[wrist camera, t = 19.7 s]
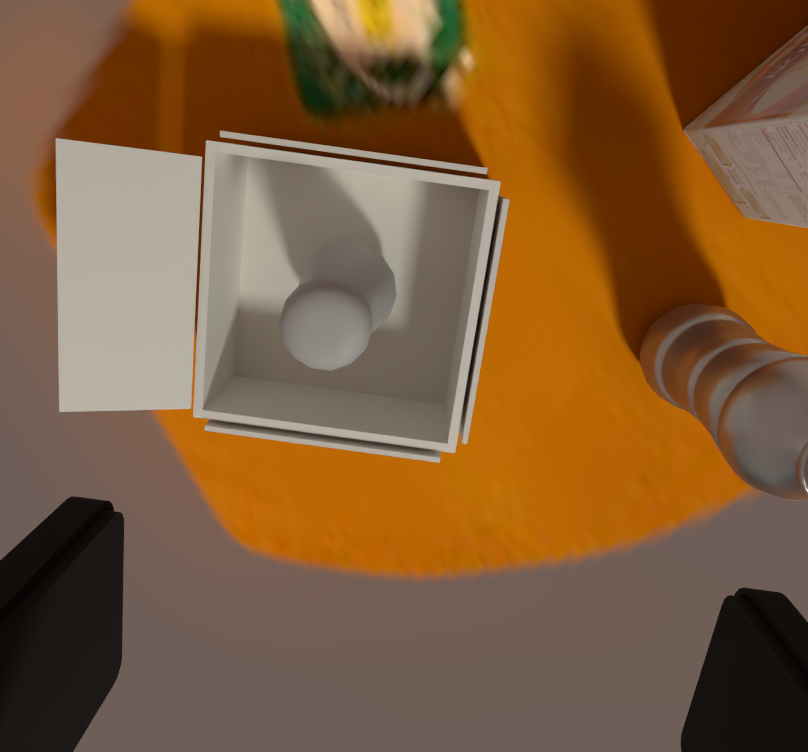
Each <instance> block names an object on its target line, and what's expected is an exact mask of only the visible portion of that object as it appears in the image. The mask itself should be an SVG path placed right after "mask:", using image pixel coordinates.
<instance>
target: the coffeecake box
mask: <svg viewBox="0 0 808 752" xmlns="http://www.w3.org/2000/svg"><path fill="white" fill-rule="evenodd" d="M684 132H685V134H686V135H687V137H688V138H689V139H690V141H691V142H692V144H693V145H694V146H695V148H696V149H697V150H698V152H699V153H700V155H701V156H702V157H703V159H704V160H705V161H706V163H707V164H708V166H709V167H710V169H711V170H712V172H713V173H714V175H715V176H716V178H717V179H718V181H719V182H720V184H721V185H722V186H723V188H724V189H725V191H726V192H727V194H728V195H729V197H730V198H731V200H732V201H733V202H734V204H735V205H736V207H737V208H738V210H739V211H740V213H741V214H742V215H743V217H745V218H750V219H756V220H762V221H768V222H775V223H781V224H787V225H793V226H799V227H806V228H808V25H807V26H806V27H805V28H803V29H802V30H801V31H800V32H798V33H797V34H796V35H795V36H794V37H792V38H791V39H790V40H789V41H788V42H786V43H785V44H784V45H783V46H782V47H780V48H779V49H778V50H777V51H776V52H774V53H773V54H772V55H771V56H770V57H769V58H767V59H766V60H765V61H764V62H763V63H761V64H760V65H759V66H758V67H757V68H755V69H754V70H753V71H752V72H751V73H750V74H748V75H747V76H746V77H745V78H744V79H742V80H741V81H740V82H739V83H737V84H736V85H735V86H734V87H733V88H731V89H730V90H729V91H728V92H727V93H725V94H724V95H723V96H722V97H721V98H720V99H718V100H717V101H716V102H715V103H714V104H712V105H711V106H710V107H709V108H708V109H706V110H705V111H704V112H703V113H702V114H701V115H699V116H698V117H697V118H696V119H695V120H693V121H692V122H691V123H690V124H689V125H688V126H686V127H685V128H684Z"/></svg>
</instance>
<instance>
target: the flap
mask: <svg viewBox="0 0 808 752" xmlns="http://www.w3.org/2000/svg"><path fill="white" fill-rule="evenodd" d="M201 172H202V157H201V156H194V155H186V154H178V153H170V152H162V151H154V150H147V149H139V148H131V147H123V146H115V145H107V144H99V143H92V142H84V141H76V140H68V139H60V138H56V207H57V269H58V270H57V275H58V337H59V338H58V343H59V408H60V412H72V411H114V410H158V409H191V393H192V371H193V349H194V327H195V305H196V282H197V260H198V238H199V216H200V194H201Z"/></svg>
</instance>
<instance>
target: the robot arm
mask: <svg viewBox="0 0 808 752" xmlns="http://www.w3.org/2000/svg"><path fill="white" fill-rule="evenodd" d="M123 553H124V518H123V514H122V513H120V512H114V509H113V505H112V503H111V502H110V501H104V500H96V499H89V498H82V497H70V498H68V499H67V500H66V501H65V502H63V503H62V504H61V505H60V506H59V507H58V508H57V509H56V510H55V511H54V512H53V513H52V514H50V515H49V516H48V518H46V519H45V520H44V521H43V522H42V523H41V524H40V525H38V526H37V528H35V529H34V530H33V531H32V532H31V533H30V534H29V535H28V536H27V537H26V538H24V539H23V540H22V541H21V542H20V543H19V544H18V545H17V546H16V547H15V548H14V549H12V550H11V551H10V552H9V553H8V554H7V555H6V556H5V557H4V558H3V559H2V560H0V752H73V751H74V749H75V747H76V745H77V744H78V742H79V741H80V739H81V738H82V736H83V734H84V733H85V731H86V729H87V728H88V726H89V724H90V723H91V721H92V719H93V718H94V716H95V715H96V713H97V711H98V709H99V708H100V706H101V705H102V703H103V701H104V700H105V698H106V696H107V694H108V693H109V691H110V690H111V688H112V686H113V685H114V683H115V681H116V679H117V676H118V673H119V670H120V665H121V660H122V615H123V614H122V612H123ZM681 751H682V752H808V622H807V621H806V620H805V619H804V617H803V616H802V615H801V614H800V613H799V611H798V610H797V609H796V608H795V607H794V605H793V604H792V603H791V602H790V601H789V599H788V598H787V597H786V596H784V595H783V594H782V593H779V592H772V591H765V590H757V589H750V588H741V589H739V590H738V591H737V592H736V593H735V595H734V596H731V595H730V596H727V597H726V598H725V599H724V602H723V604H722V607H721V610H720V613H719V616H718V620H717V623H716V627H715V629H714V632H713V635H712V639H711V642H710V645H709V648H708V651H707V654H706V658H705V661H704V664H703V667H702V670H701V673H700V677H699V680H698V683H697V686H696V690H695V693H694V696H693V699H692V702H691V705H690V708H689V712H688V715H687V718H686V721H685V724H684V727H683V731H682V735H681Z"/></svg>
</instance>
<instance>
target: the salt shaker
mask: <svg viewBox="0 0 808 752" xmlns="http://www.w3.org/2000/svg"><path fill="white" fill-rule="evenodd" d="M396 296H397V294H396V286H395V278H394V273H393V272H392V270H391V268H390V267H389V265H388V264H387V262H386V261H385V259H384V258H383V256H382V255H381V254H380V253H378V252H376V251H375V250H373V249H372V248H370V247H368V246H367V245H365V244H364V243H358V242H348V241H339V242H336V243H333V244H330V245H327V246H324V247H321V248H319V249H318V250H317V252H316V253H315V254H314V255H313V256H312V257H311V258H310V259H309V260H308V261H307V263H306V264H305V266H304V269H303V272H302V275H301V279H300V282H299V285H298V287H297V288H296V289H295V290H294V291H293V292H292V293H291V295H290V296H289V297H288V298H287V299H286V300H285V303H284V307H283V310H282V313H281V316H280V320H279V324H280V329H281V335H282V340H283V343H284V344H285V346H286V347H287V349H288V350H289V352H290V353H291V355H292V356H293V357H294V359H296V360H298V361H300V362H301V363H303V364H305V365H307V366H308V367H310V368H313V369H321V370H330V371H332V370H334V369H337V368H340V367H343V366H346V365H349V364H350V363H352V362H353V361H354V360H355V359H356V358H357V357H358V356H359V355H360V354H361V353H362V352H363V351H364V350H365V349H366V348H367V345H368V342H369V339H370V336H371V333H372V332H373V331H375V330H376V329H377V328H378V327H379V326H380V325H381V324H382V323H383V322H384V321H385V320H386V319H387V318H388V317H389V316H390V314H391V311H392V308H393V305H394V302H395V299H396Z"/></svg>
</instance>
